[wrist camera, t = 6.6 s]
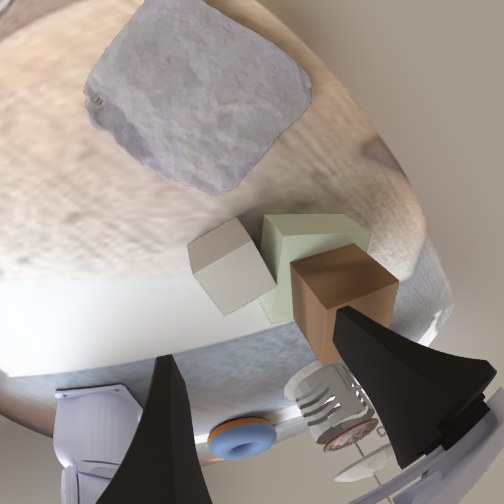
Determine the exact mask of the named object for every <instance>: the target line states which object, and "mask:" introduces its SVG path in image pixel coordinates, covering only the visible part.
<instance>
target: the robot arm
mask: <svg viewBox="0 0 504 504" xmlns="http://www.w3.org/2000/svg"><path fill="white" fill-rule="evenodd" d="M332 341H333V343H334V345H335V347H336V349H337V351H338V353H339V355H340V356H341V358H342V360H343V361H344V363H345V364H346V366H347V367H348V368H349V370H350V371H351V373H352V374H353V375H354V377H355V378H356V380H357V381H358V382H359V384H360V385H361V387H362V388H363V390H364V391H365V392H366V394H367V396H368V397H369V399H370V400H371V402H372V404H373V406H374V408H375V410H376V412H377V413H378V416H379V417H380V420H381V422H382V424H383V426H384V428H385V430H386V433H387V435H388V437H389V440H390V442H391V445H392V448H393V450H394V453H395V456H396V459H397V462H398V465H399V466H400V468H401V469H402V470H403V469H404V468H406V467H407V466H409V465H410V464H412V463H413V462H414V461H416V460H417V459H419V458H420V457H422V456H423V455H424V454H425V455H426V457H424V458H423V459H422V460H420V461H419V462H417V463H416V464H415V465H413V466H412V467H410V468H409V469H407V470H406V471H404V472H403V473H401V474H400V475H398V476H396V477H395V478H393V479H392V480H390V481H388V482H386V483H385V484H383V485H381V486H380V487H378V488H376V489H374V490H372V491H371V492H369V493H367V494H365V495H363V496H361V497H359V498H357V499H355V500H353V501H351V502H349V503H347V504H375V503H377V502H379V501H381V500H383V499H384V498H386V497H388V496H389V495H391V494H392V493H394V492H396V491H397V490H399V489H401V488H402V487H404V486H405V485H407V484H408V483H410V482H411V481H413V480H414V479H416V478H417V477H419V476H420V475H421V474H422V477H421V480H420V481H418V482H417V483H415V484H413V485H412V486H410V487H408V488H407V489H405V490H404V491H402V492H401V493H400V494H398V495H397V496H395V497H394V498H393V499H392V500H393V501H394V503H395V504H458V503H459V502H460V501H461V500H462V499H463V498H464V497H465V496H466V495H467V494H468V492H469V491H470V490H471V489H472V488H473V487H474V486H475V484H476V483H477V482H478V481H479V480H480V478H481V477H482V476H483V475H484V473H485V472H486V471H487V470H488V468H489V467H490V466H491V464H492V463H493V461H494V460H495V459H496V457H497V456H498V455H499V453H500V452H501V450H502V449H503V447H504V390H503V388H502V387H500V388H499V389H498V390H497V391H496V392H495V394H494V395H493V396H492V397H491V398H490V399H489V400H488V401H487V403H485V402H484V401H483V399H484V398H485V396H484V394H483V393H482V392H483V391H484V390H485V388H486V387H487V386H488V385H489V383H490V382H491V381H492V380H493V378H494V377H495V375H496V373H497V371H496V370H495V369H494V368H493V367H492V366H491V365H490V363H489V362H488V361H486V360H480V359H471V358H464V357H459V356H455V355H451V354H446V353H443V352H440V351H437V350H434V349H431V348H428V347H426V346H423V345H421V344H418V343H416V342H413V341H411V340H409V339H407V338H405V337H403V336H401V335H399V334H397V333H395V332H393V331H391V330H390V329H388V328H386V327H384V326H382V325H381V324H379V323H377V322H376V321H374V320H372V319H371V318H369V317H367V316H366V315H364V314H362V313H361V312H359V311H357V310H356V309H354V308H352V307H351V306H349V305H347V306H345V307H342V308H339V309H337V311H336V318H335V325H334V332H333V339H332ZM55 396H56V397H57V398H58V404H57V411H56V418H55V426H54V436H53V442H54V449H55V452H56V455H57V457H58V459H59V461H60V462H61V464H62V465H63V466H64V467H65V468H64V469H63V472H62V480H61V498H62V504H213V503H212V501H211V498H210V496H209V493H208V490H207V487H206V484H205V481H204V478H203V474H202V471H201V467H200V464H199V460H198V457H197V452H196V447H195V440H194V433H193V426H192V418H191V410H190V403H189V399H188V394H187V390H186V385H185V382H184V380H183V378H182V376H181V373H180V371H179V369H178V367H177V365H176V363H175V361H174V358H173V356H172V354H170V355H165V356H160V357H157V358H156V361H155V366H154V371H153V376H152V380H151V384H150V388H149V391H148V395H147V399H146V402H145V406H144V409H143V408H142V407H141V406H140V405H139V404H138V402H137V401H136V400H135V399H134V397H133V396H132V395H131V393H130V392H129V391H128V390H127V388H126V387H125V386H124V385H121V384H119V385H112V386H104V387H96V388H87V389H76V390H64V391H55Z"/></svg>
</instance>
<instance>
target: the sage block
mask: <svg viewBox="0 0 504 504" xmlns="http://www.w3.org/2000/svg"><path fill="white" fill-rule="evenodd" d="M370 236H371V231H369V230H368V229H366V228H365V227H363V226H362V225H361V224H359V223H358V222H356V221H355V220H353V219H352V218H350V217H349V216H347V215H346V214H265V215H264V217H263V227H262V238H261V248H260V255H261V257H262V259H263V261H264V263H265V265H266V266H267V268H268V270H269V272H270V274H271V276H272V278H273V279H274V281H275V283H276V285H277V287H276V288H274V289H272V290H270V291H269V292H267V293H265V294H263V295H262V296H260V297H258V300H259V302H260V304H261V306H262V308H263V310H264V312H265V313H266V315H267V317H268V319H269V321H270V323H271V324H273V323H279V322H285V321H291V320H294V318H293V304H292V289H291V275H290V262H292V261H296V260H299V259H303V258H306V257H309V256H313V255H316V254H320V253H323V252H326V251H330V250H333V249H336V248H340V247H343V246H346V245H349V244H353V243H355V244H356V245H357V246H358V247H360V248H361V249H362V250H363V251H365V252H367V248H368V244H369V240H370Z"/></svg>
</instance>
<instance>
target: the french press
mask: <svg viewBox="0 0 504 504" xmlns="http://www.w3.org/2000/svg"><path fill="white" fill-rule="evenodd" d="M352 383H353V384H354V387H351V386H352ZM361 388H362V387H361V385H358V384H357V383H356V381H355V380H354V378H353V377H352V375H351V374H350V373H349V368H348V367H347V366H346V364H345V363H344V361H343V360H342V359H339V360H337V361H335V362H332V363H330V364H327V365H325V366H322V364H321V362H320V361H319V359H318V360H315V361H313V362H312V363H310V364H308V365H307V366H305V367H303V368H302V369H300V370H299V371H298V372H297V373H296V374H295V375H294V376H292V377H291V378H290V379H289V381H288V383H287V384H286V386H285V388H284V396H285V397H286V398H288V399H289V400H291V401H296V402H297V405H298V407H299V409H300V410H301V413H302V415H303V416H304V417H305V421H306V423H307V424H308V425H309V426H310V427H309V429H310V431H311V433H312V435H313V437H314V439H315V441H316V443H318V444H321V445H322V444H326V445H325V447H324V452H327V453H331V452H335V451H338V450H341V449H343V448H345V447H347V446H349V445H352V443H353V444H354V443H355V444H356V446H357V448H358V450H359V451H360V453H361V455H362V457H363V458H361V459H360V460H358V461H357V462H355V463H353V464H351V465H350V466H348V467H346V468H345V469H343V470H342V471H341V472H339V473H338V474H337V475H336V476H334V480H335V481H341V482H349V481H355V480H359V479H361V478H364V477H367V476H373V475H374V477H375V479H376V480H377V482H378V484H379V486H381V484H380V482H379V480H378V479H377V477H376V475H375V474H376V473H377V472H378V470H379V469H381V468H382V467H383V466H384V465H385V464H386V463H387V462H388V461H389V459H390V458H391V457H392V456H393V455H394V454H395V453H394V450H393V448H392V445H391V442H390V443H388V444H386V445H384V446H382V447H381V448H379V449H377V450H375V451H374V452H372V453H370V454H368V455H367V456H364V455H363V453H362V451H361V450H360V448H359V446H358V445H357V443H356V442H357V441H359V440H361V438H362V437H363V438H364V437H365V436H367V435H366V434H370V432H371V431H372V430H374V429H375V427H376V426H377V425H378V422H379V421H378V419H376V418H374V419H373V418H372V416H373V415H374V413H375V411H374V408H373V407H372V405H371V404H370V403H369V401H368V399H367V398H366V396H365V395H364V394H363V392H362V391H361ZM357 390H358V392H359V395H358V397H357V395H356V391H357ZM333 396H335V399H334V400H332V401H329V402H327V403H325V402H326V401H327V400H328V399H329V398H331V397H333ZM361 397H362V398H363V400H364V401H363V404H362V403H361V401H360V400H361ZM324 403H325V404H324ZM337 403H339V404H340V405H341V406H338V407H335V405H336V404H337ZM323 404H324V405H323ZM366 404H367V406H368V407H369V408H368V411H367V413H366V414H365V415H363V416H362V417H360V418H356V419H351V420H348V421H345V422H342V423H340V424H338V425H336V426H335V427H332V426H333V425H335V424H337V423H338V422H340V421H342V420H343V419H345V418H347V417H349V416H351V415H355V414H359V413H360V412H362V411H363V410H365V407H366ZM321 405H322V406H321ZM334 407H335V408H334ZM334 412H336V413H334ZM332 413H334V414H333V415H332V416H331V417H330V418H329V419H328V418H327V417H328V416H329V415H331V414H332ZM381 428H384V426H380V427H378V428H377V429H376V431H377V433H378V434H379V436H380V437H383V436H385V435H386V430H385V433H384V434H383V435H381V433H380V432H379V429H381ZM384 429H385V428H384ZM386 498H387V499H388V501H389V503H390V504H392V502H391V501H390V499H389V497H386Z"/></svg>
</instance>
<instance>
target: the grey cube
mask: <svg viewBox="0 0 504 504" xmlns="http://www.w3.org/2000/svg"><path fill="white" fill-rule="evenodd" d="M187 248H188V253H189V259H190V264H191V269H192V274H193V276H194V277H195V278H196V280H197V281H198V282H199V284H200V285H201V286H202V288H203V289H204V290H205V292H206V293H207V294H208V296H209V297H210V298H211V299H212V301H213V302H214V303H215V305H216V306H217V307H218V308H219V310H220V311H221V312H222V314H223V315H224V316H226V315H228V314H230V313H231V312H233V311H235V310H237V309H239V308H240V307H242V306H244V305H246V304H248V303H249V302H251V301H253V300H255V299H256V298H258V297H260V296H262V295H263V294H265V293H267V292H269V291H270V290H272V289H274V288H276V287H277V285H276V283H275V281H274V279H273V278H272V276H271V274H270V272H269V270H268V268H267V266H266V265H265V263H264V261H263V259H262V257H261V255H260V253H259V252H258V250H257V248H256V246H255V244H254V242H253V240H252V239H251V237H250V236H249V234H248V233H247V231H246V230H245V228H244V227H243V225H242V224H241V223H240V221H239V220H238V218H237V217H234V218H232V219H231V220H229V221H227V222H225V223H224V224H222V225H220V226H219V227H217V228H215V229H213V230H212V231H210V232H208V233H206V234H205V235H203V236H201V237H200V238H198V239H196V240H195V241H193V242H191V243H190V244H188V245H187Z"/></svg>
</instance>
